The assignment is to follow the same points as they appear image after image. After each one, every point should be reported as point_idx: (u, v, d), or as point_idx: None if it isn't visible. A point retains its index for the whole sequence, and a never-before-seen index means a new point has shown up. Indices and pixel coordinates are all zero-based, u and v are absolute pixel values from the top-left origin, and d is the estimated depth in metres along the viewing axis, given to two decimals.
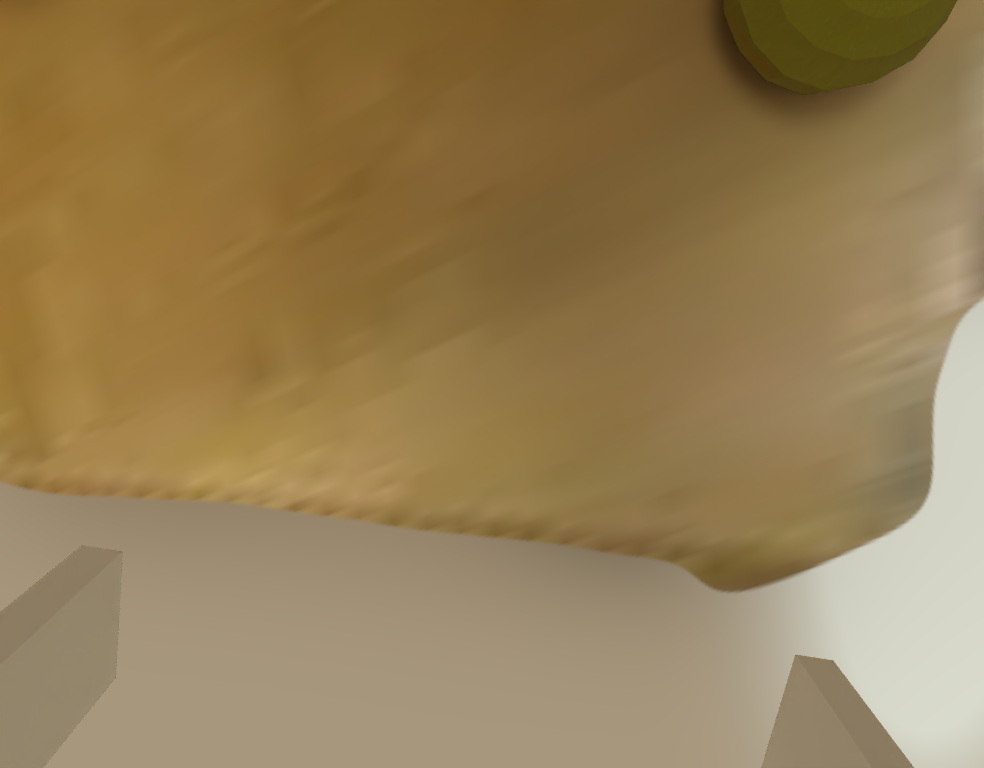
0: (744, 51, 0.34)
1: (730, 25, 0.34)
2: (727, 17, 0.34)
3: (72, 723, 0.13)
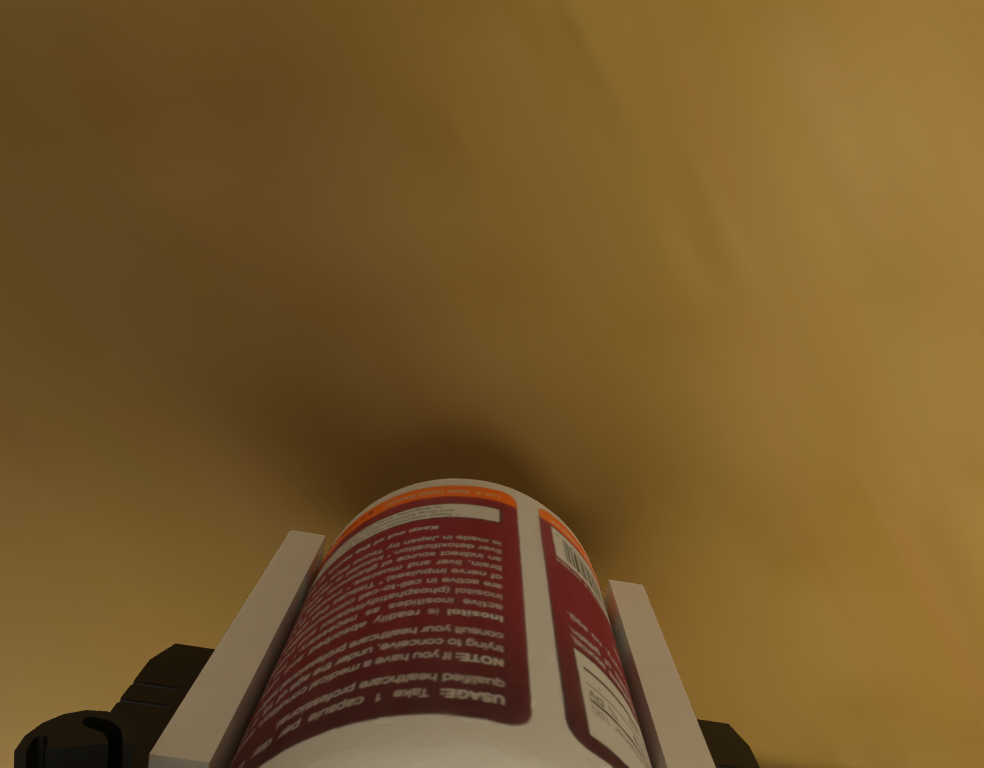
0: None
1: None
2: None
3: None
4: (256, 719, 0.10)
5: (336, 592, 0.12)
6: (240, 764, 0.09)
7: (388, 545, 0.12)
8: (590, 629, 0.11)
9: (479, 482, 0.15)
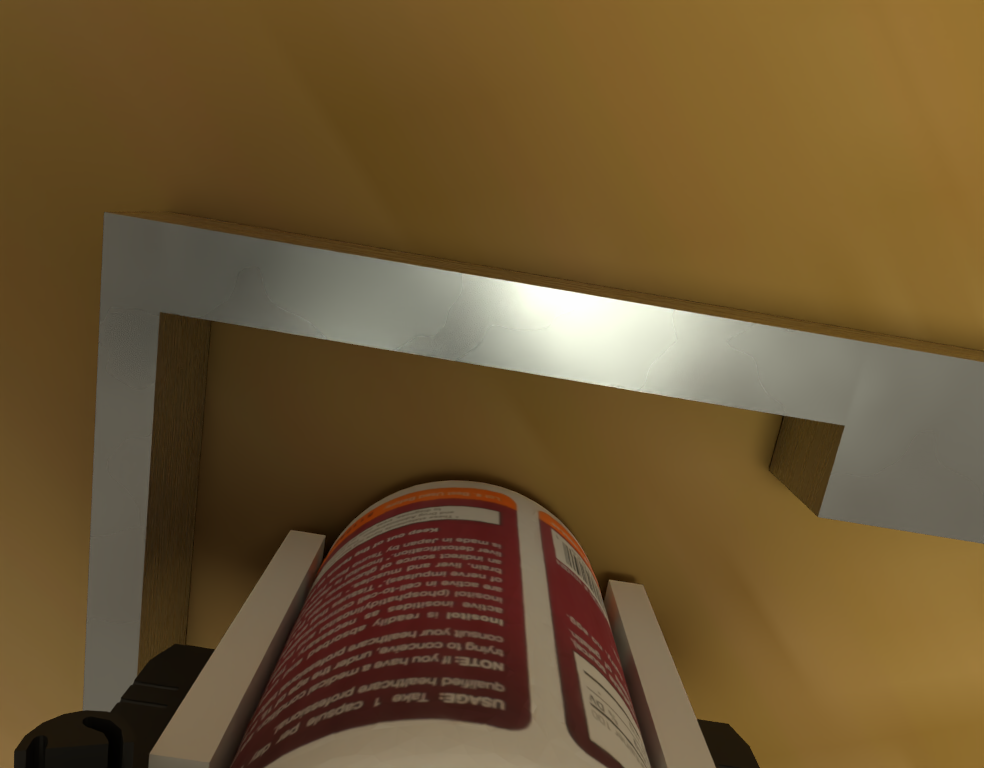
0: None
1: None
2: None
3: None
4: (254, 723, 0.10)
5: (335, 594, 0.12)
6: None
7: (387, 548, 0.12)
8: (590, 633, 0.11)
9: (479, 485, 0.15)
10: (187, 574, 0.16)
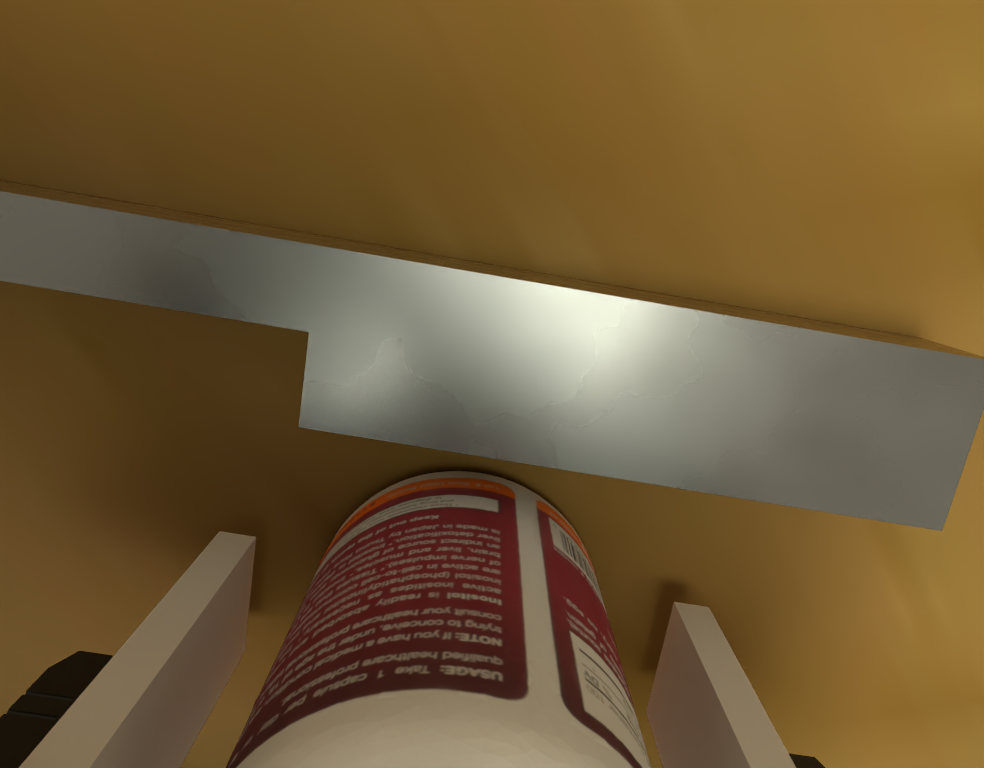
0: None
1: None
2: None
3: (219, 690, 0.14)
4: (262, 698, 0.10)
5: (339, 578, 0.12)
6: (247, 739, 0.09)
7: (389, 534, 0.13)
8: (585, 614, 0.12)
9: (479, 475, 0.15)
10: None
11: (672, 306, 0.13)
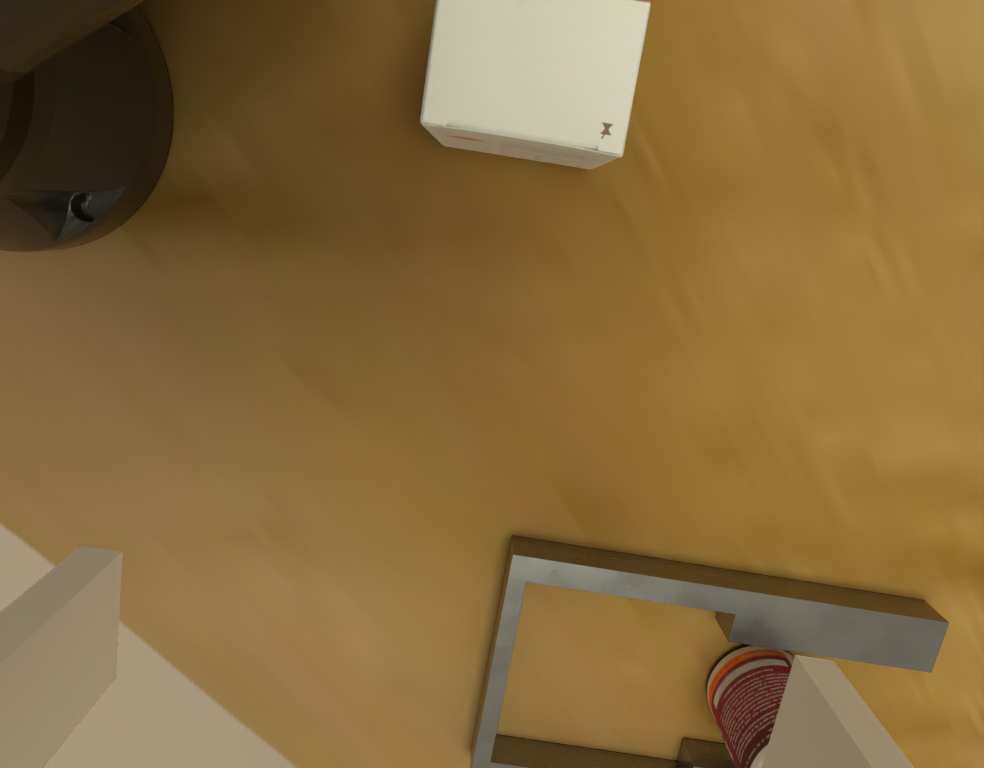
0: None
1: None
2: None
3: (72, 723, 0.13)
4: (752, 729, 0.38)
5: (751, 692, 0.40)
6: (762, 740, 0.37)
7: (759, 676, 0.41)
8: None
9: None
10: None
11: (848, 606, 0.41)
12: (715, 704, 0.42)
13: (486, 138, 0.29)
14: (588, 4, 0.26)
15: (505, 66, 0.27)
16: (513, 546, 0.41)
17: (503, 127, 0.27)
